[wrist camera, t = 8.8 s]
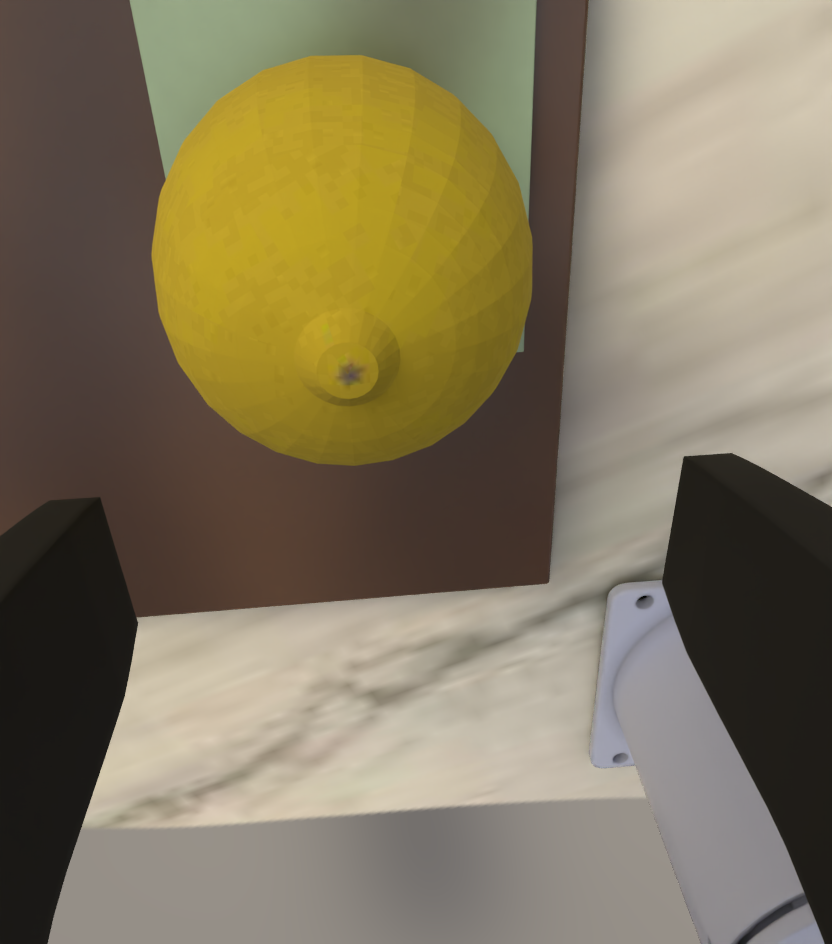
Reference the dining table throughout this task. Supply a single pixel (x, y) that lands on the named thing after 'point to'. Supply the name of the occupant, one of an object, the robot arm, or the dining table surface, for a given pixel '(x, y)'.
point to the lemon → (342, 260)
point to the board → (149, 350)
